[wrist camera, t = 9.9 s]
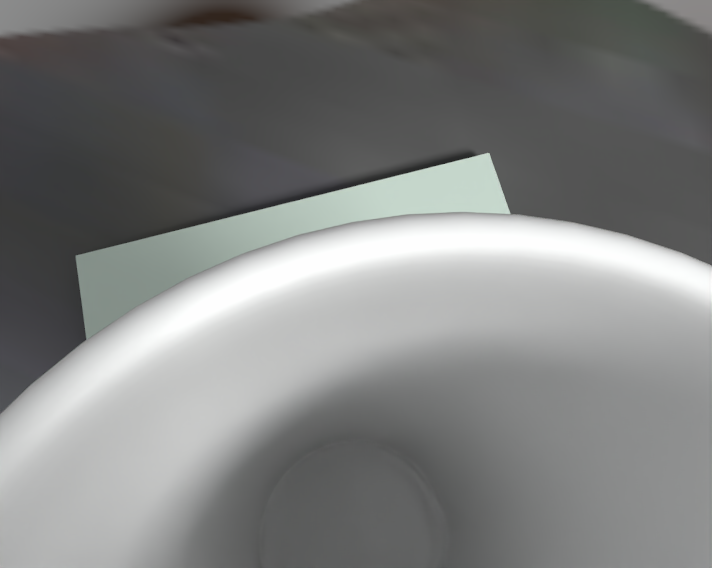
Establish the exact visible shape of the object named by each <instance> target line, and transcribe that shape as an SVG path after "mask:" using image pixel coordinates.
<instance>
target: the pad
mask: <svg viewBox="0 0 712 568" xmlns="http://www.w3.org/2000/svg"><path fill="white" fill-rule="evenodd" d="M447 212H477V213H498V214H510V212H509V209H508V206H507V203H506V200H505V197H504V194H503V192H502V189H501V186H500V183H499V180H498V177H497V174H496V172H495V169H494V166H493V163H492V160H491V157H490V154H489V153H487V154H483V155H479V156H474V157H470V158H466V159H462V160H458V161H454V162H450V163H446V164H442V165H438V166H434V167H430V168H426V169H422V170H418V171H414V172H410V173H406V174H402V175H398V176H394V177H390V178H386V179H382V180H378V181H374V182H370V183H366V184H362V185H358V186H354V187H350V188H346V189H342V190H338V191H334V192H330V193H326V194H322V195H318V196H314V197H310V198H306V199H302V200H298V201H294V202H289V203H285V204H281V205H277V206H273V207H269V208H265V209H261V210H257V211H253V212H249V213H245V214H241V215H237V216H233V217H229V218H225V219H221V220H217V221H213V222H209V223H205V224H201V225H197V226H193V227H189V228H185V229H181V230H177V231H173V232H169V233H165V234H161V235H157V236H153V237H149V238H145V239H141V240H137V241H133V242H129V243H125V244H121V245H117V246H113V247H109V248H105V249H100V250H96V251H92V252H88V253H84V254H80V255H76V263H77V271H78V279H79V286H80V294H81V302H82V309H83V317H84V325H85V332H86V340H87V339H89V338H90V337H91V336H93V335H94V334H96V333H97V332H99V331H100V330H102V329H103V328H105V327H106V326H108V325H109V324H111V323H112V322H114V321H115V320H117V319H118V318H120V317H121V316H122V315H124V314H125V313H127V312H128V311H130V310H131V309H133V308H134V307H136V306H138V305H140V304H141V303H143V302H145V301H147V300H149V299H150V298H152V297H154V296H156V295H158V294H159V293H161V292H163V291H165V290H167V289H168V288H170V287H172V286H174V285H176V284H177V283H179V282H181V281H183V280H185V279H186V278H188V277H190V276H193V275H195V274H197V273H200V272H202V271H204V270H206V269H209V268H211V267H213V266H215V265H218V264H220V263H222V262H224V261H227V260H229V259H231V258H233V257H236V256H238V255H240V254H243V253H245V252H248V251H251V250H254V249H257V248H260V247H263V246H266V245H269V244H272V243H275V242H278V241H281V240H284V239H287V238H290V237H293V236H296V235H300V234H304V233H308V232H312V231H317V230H321V229H325V228H329V227H333V226H338V225H342V224H346V223H350V222H356V221H363V220H371V219H378V218H385V217H392V216H399V215H406V214H426V213H447Z"/></svg>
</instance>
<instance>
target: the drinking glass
mask: <svg viewBox="0 0 712 568" xmlns="http://www.w3.org/2000/svg"><path fill="white" fill-rule="evenodd" d="M0 568H712V265H709V264H707V263H704V262H702V261H700V260H697V259H695V258H693V257H690V256H688V255H686V254H683V253H681V252H678V251H675V250H672V249H669V248H666V247H663V246H660V245H657V244H654V243H651V242H648V241H644V240H641V239H638V238H635V237H632V236H629V235H626V234H622V233H617V232H613V231H609V230H604V229H600V228H596V227H591V226H587V225H583V224H578V223H574V222H569V221H561V220H554V219H547V218H540V217H532V216H525V215H518V214H498V213H477V212H447V213H426V214H406V215H399V216H392V217H385V218H378V219H371V220H363V221H356V222H350V223H346V224H342V225H338V226H333V227H329V228H325V229H321V230H317V231H312V232H308V233H304V234H300V235H296V236H293V237H290V238H287V239H284V240H281V241H278V242H275V243H272V244H269V245H266V246H263V247H260V248H257V249H254V250H251V251H248V252H245V253H243V254H240V255H238V256H236V257H233V258H231V259H229V260H227V261H224V262H222V263H220V264H218V265H215V266H213V267H211V268H209V269H206V270H204V271H202V272H200V273H197V274H195V275H193V276H190V277H188V278H186V279H185V280H183V281H181V282H179V283H177V284H176V285H174V286H172V287H170V288H168V289H167V290H165V291H163V292H161V293H159V294H158V295H156V296H154V297H152V298H150V299H149V300H147V301H145V302H143V303H141V304H140V305H138V306H136V307H134V308H133V309H131V310H130V311H128V312H127V313H125V314H124V315H122V316H121V317H120V318H118V319H117V320H115V321H114V322H112V323H111V324H109V325H108V326H106V327H105V328H103V329H102V330H100V331H99V332H97V333H96V334H94V335H93V336H91V337H90V338H89V339H87V340H86V341H84V342H83V343H81V344H80V345H79V346H78V347H76V348H75V349H74V350H73V351H71V352H70V353H69V354H68V355H66V356H65V357H64V358H63V359H62V360H60V361H59V362H58V363H57V364H55V365H54V366H53V367H52V368H50V369H49V370H48V371H47V372H46V373H44V374H43V375H42V376H41V377H39V378H38V379H37V380H36V381H34V382H33V383H32V384H31V385H30V386H29V387H27V388H26V389H25V390H24V391H23V392H22V393H21V394H20V395H19V396H18V397H17V398H16V399H15V400H14V401H13V402H12V403H11V404H10V405H9V406H8V407H7V408H6V409H5V410H4V411H3V412H2V413H1V414H0Z"/></svg>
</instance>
